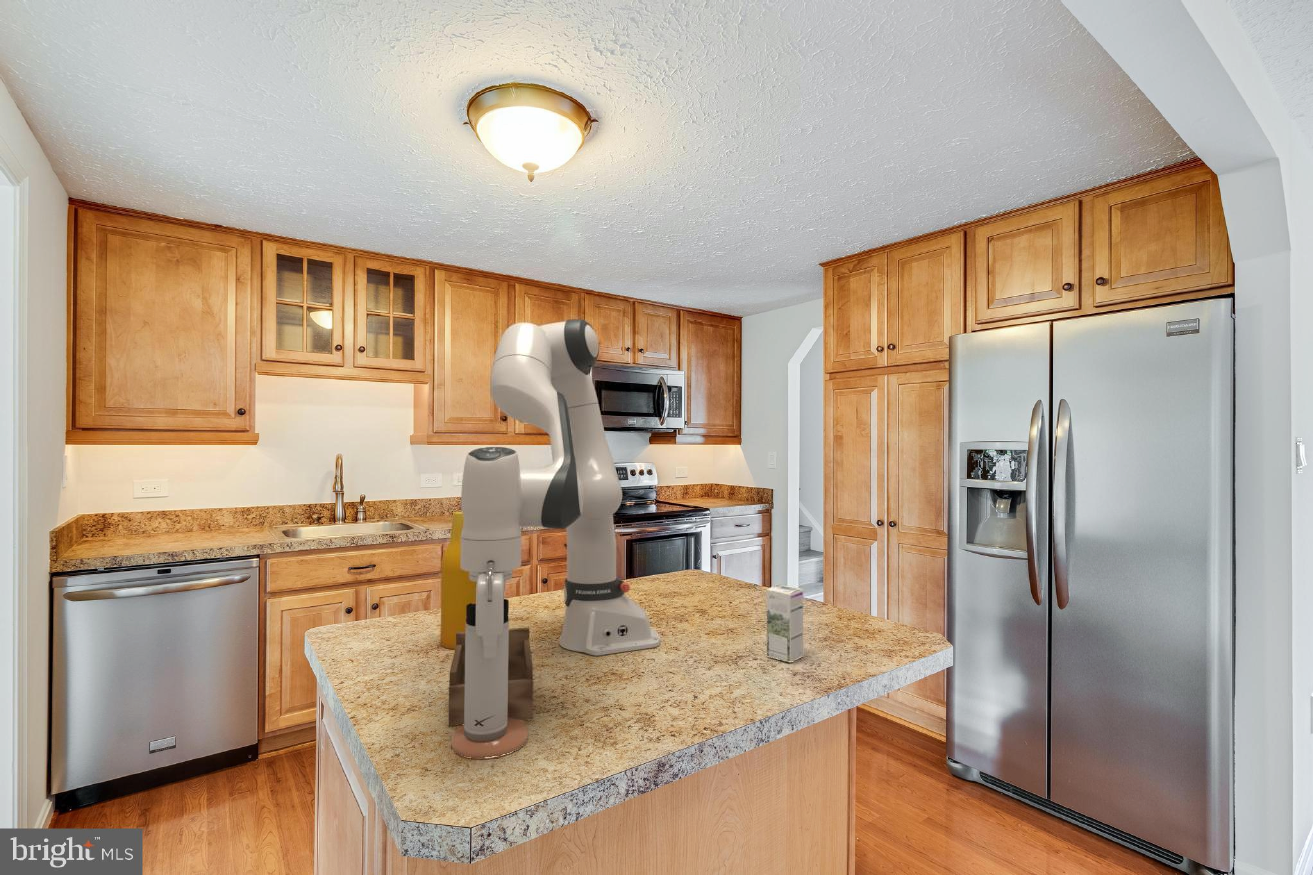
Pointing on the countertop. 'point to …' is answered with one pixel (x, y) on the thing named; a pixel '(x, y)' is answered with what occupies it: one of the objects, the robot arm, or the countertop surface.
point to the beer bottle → (454, 587)
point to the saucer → (498, 747)
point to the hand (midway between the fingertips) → (490, 647)
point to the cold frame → (517, 677)
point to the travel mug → (485, 682)
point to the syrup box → (785, 622)
